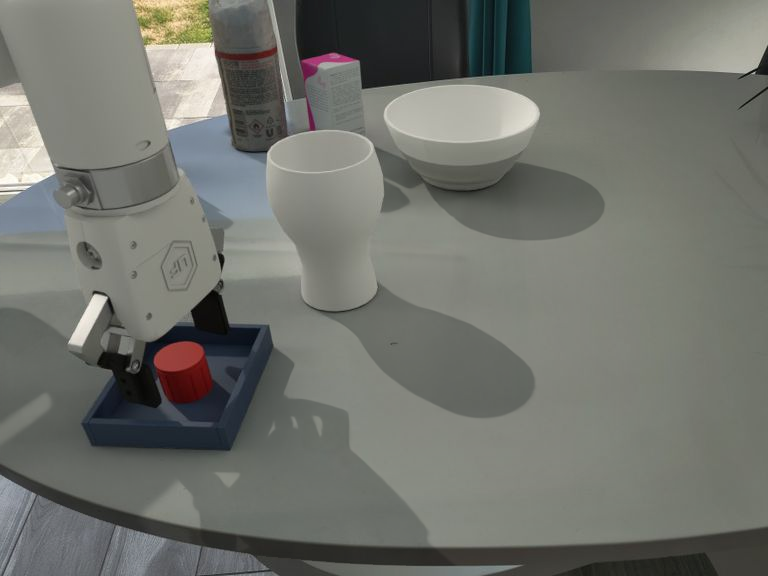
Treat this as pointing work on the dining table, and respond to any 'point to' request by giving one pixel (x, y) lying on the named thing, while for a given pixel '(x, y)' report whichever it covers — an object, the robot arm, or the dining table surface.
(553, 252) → the dining table surface
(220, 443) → the tray
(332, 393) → the dining table surface
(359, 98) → the supplement box
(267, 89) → the spray can
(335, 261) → the cup
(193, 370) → the cap
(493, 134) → the bowl
